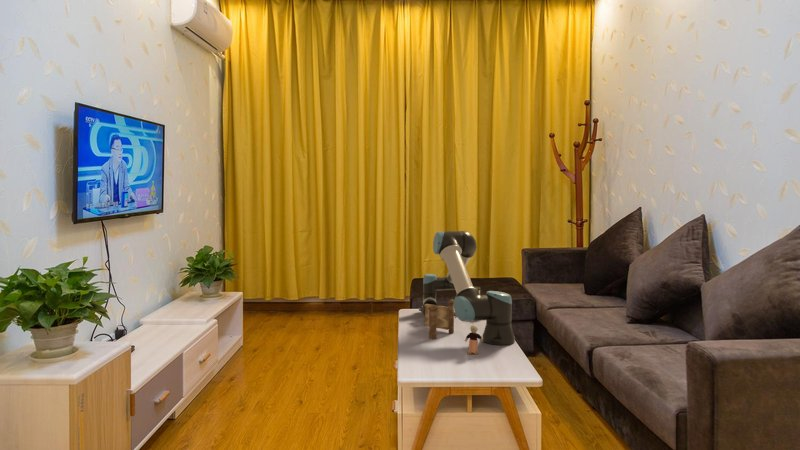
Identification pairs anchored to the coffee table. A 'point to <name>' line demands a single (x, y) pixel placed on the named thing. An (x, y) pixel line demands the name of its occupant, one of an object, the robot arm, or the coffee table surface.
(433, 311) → the latch post
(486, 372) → the coffee table surface
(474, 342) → the grandmother figurine
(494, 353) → the coffee table surface
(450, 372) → the coffee table surface
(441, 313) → the gate
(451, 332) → the hinge post
